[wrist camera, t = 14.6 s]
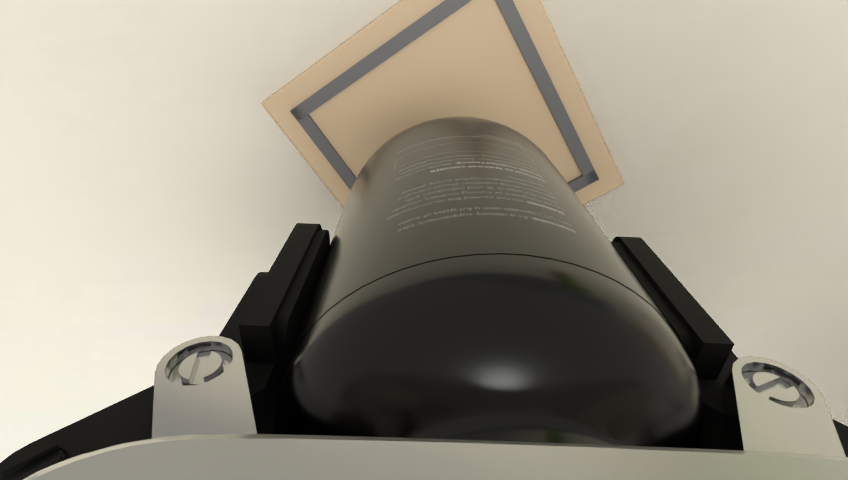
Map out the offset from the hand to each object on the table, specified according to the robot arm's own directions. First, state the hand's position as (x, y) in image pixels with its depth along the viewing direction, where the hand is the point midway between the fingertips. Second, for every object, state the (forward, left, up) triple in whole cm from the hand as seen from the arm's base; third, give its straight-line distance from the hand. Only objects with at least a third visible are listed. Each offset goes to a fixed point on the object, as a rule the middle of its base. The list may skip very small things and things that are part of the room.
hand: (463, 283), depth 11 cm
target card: (0, 0, -13) cm, 13 cm away
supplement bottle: (0, 0, -4) cm, 4 cm away
